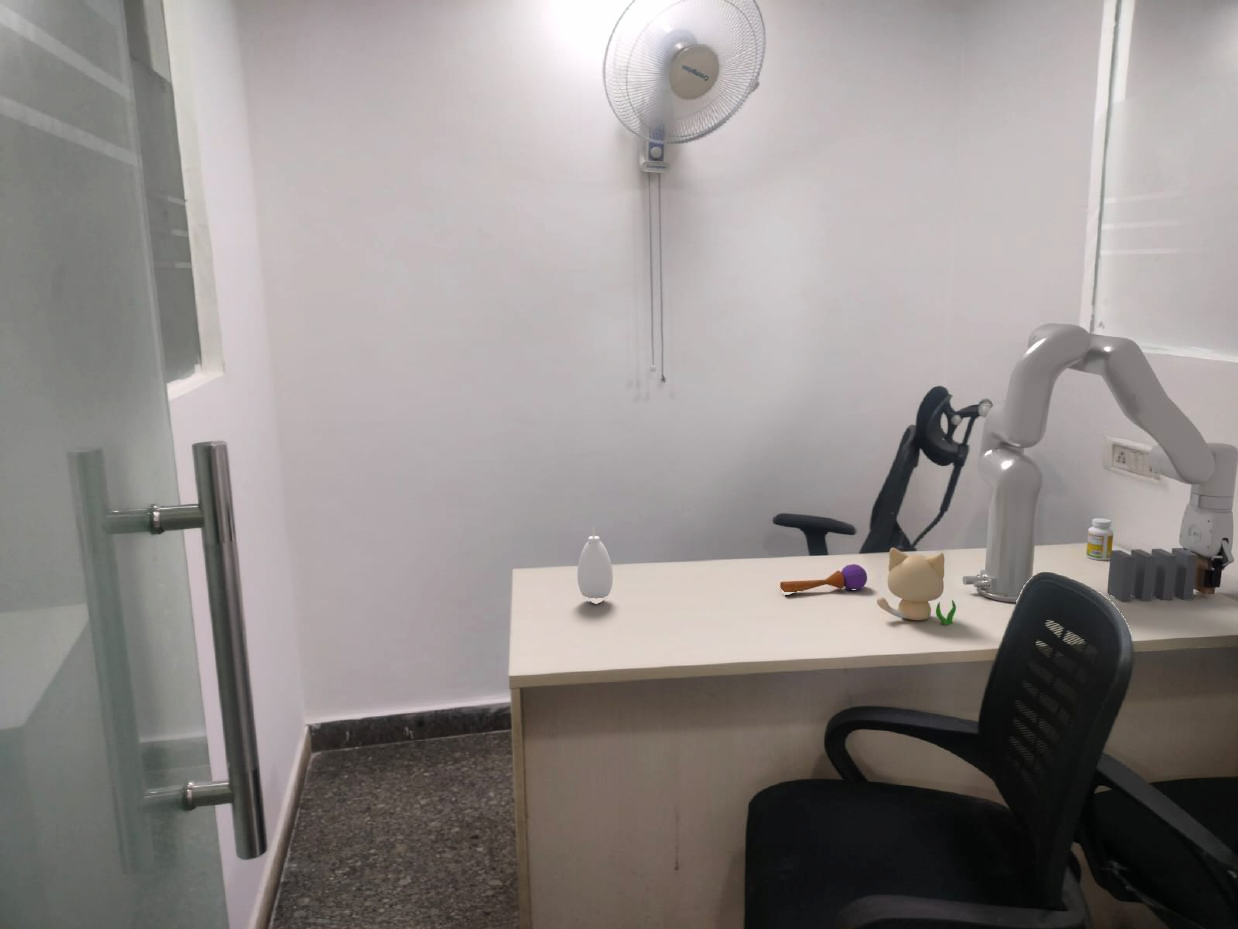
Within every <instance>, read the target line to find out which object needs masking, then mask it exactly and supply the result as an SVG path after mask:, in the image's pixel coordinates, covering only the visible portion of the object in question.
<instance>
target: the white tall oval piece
mask: <svg viewBox="0 0 1238 929" xmlns="http://www.w3.org/2000/svg"><path fill="white" fill-rule="evenodd" d="M595 532H596V531H595V526H594V525H593V526H592V535H590V536H589V537H587V542H586V543H585V544H584V547H583V548H582V551H581V553H580V556H579V560H578V565H577V584H578V588H579V591H580V593H581V595H582V596H585V597H588V598H596V599H597V598H604V597H606V596H608V597H609V595H610V594H611V590H612V587H613V583H614V582H613V580H614V579H613V578H614V576H613V575H614V574H613V572H614V571H613V570H614V569H613V565H612V561H611V557H610V555H609V553H608V550H607V548H606V546H605V545H604V544H603V541H600V540H601V537H600V536H597V535H596V533H595Z"/></svg>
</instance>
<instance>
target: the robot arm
mask: <svg viewBox="0 0 1238 929" xmlns="http://www.w3.org/2000/svg"><path fill="white" fill-rule="evenodd" d="M1027 347H1028V349H1027V350H1026V351H1025V352H1023V354H1022V355H1021V356H1020V357H1019V358H1018V360H1017V361H1016V363H1015V365H1014V367H1013V370H1012V372H1011V373H1010V374H1011V375H1010V379H1009V382H1008V387H1007V390H1006V397H1005V399H1002V400H1000V401H997V403H996V402H995V403H994V404H993V406H992V407H991V408H990V409H989V411H988V412H987V414H986V417H985V419H984V422H983V428H982V434H981V440H980V447H979V453H978V454H979V455H978V461H977V462H978V463H977V467H978V468H977V469H978V474H979V475H980V478H981V480H982V481H984V483H985V484H987V485H988V486H989V487H990V488H993V491H992V496H991V500H990V503H989V508H988V516H987V517H988V519H987V535H986V551H985V564H984V565H985V569H984V570H980V573H978V574H976V575H964V576H963V577H962V583H963V585H965V586H966V585H969V586H970V585H973V587H974V588H976V592H977V593H978V594H979V595H981V596H983V597H986V598H989V599H991V600H995V601H999V602H1005V603H1017V602H1016V600H1017V599H1018V597H1019V595H1020V592H1021V590H1022V589H1023V586H1024V585H1025V584H1026V582H1027V581H1028V580H1029V579H1030V578H1031V577H1032V578H1033V572H1034V571H1033V570H1034V562H1035V561H1034V560H1035V547H1036V546H1035V544H1036V532H1037V520H1038V519H1037V517H1038V516H1037V515H1038V507H1039V502H1040V499H1041V494H1042V492H1043V485H1044V475H1043V470H1042V469H1041V467H1040V465H1039V464H1038V463H1037V462H1036V461H1035V460H1034V459H1033V458H1031V457H1030V456H1029V455H1026V454H1024V452H1025V449H1029V448H1034V447H1035V446H1037V445H1038V444H1039V443H1041V441H1043V439H1044V437H1045V434H1046V430H1047V425H1048V418H1049V411H1050V406H1051V400H1052V395H1053V391H1054V388H1055V385H1056V382H1057V380H1058V378H1059V376H1060V375H1061V374H1062V373H1063V372H1064V371H1066V370H1067V369H1069V370H1074V371H1079V372H1083V373H1087V374H1092V375H1096V376H1097V375H1098V376H1101V377H1102V378H1103V380H1104V382H1105V383H1106V386H1107V387H1108V390H1109V391H1110V393H1111V394H1112V397H1113V399H1114V400H1115V402H1116V404H1117V405H1118V407H1119V408H1120V410H1121V412H1122V414H1123V415H1124V416H1125V417H1126V418H1127V419H1128V420H1129V421H1130V422H1131V423H1132V424H1134V425H1135V426H1136V427H1138V428H1139V429H1141V430H1143V431H1144V432H1145V433H1147V434H1148V435H1149V436H1150V437H1151V438H1152V439H1153V440H1154V441H1155V442H1156V443H1157V444H1156V445H1155V446H1153V447H1152V448H1151V450H1150V451H1149V453H1148V456H1147V460H1148V461H1147V462H1148V464H1149V466H1150V467H1151V469H1152V470H1153V471H1154V472H1156V473H1157V474H1159V475H1161V476H1163V477H1167V478H1169V479H1173V480H1175V481H1178V482H1180V483H1182V484H1185V485H1190V492H1189V502H1188V503H1187V504H1186V506H1185V509H1184V512H1183V516H1182V520H1181V524H1180V525H1181V526H1180V530H1179V537H1178V538H1179V540H1178V543H1179V545H1180V546H1181V548H1182V549H1185V550H1187V551H1190V552H1192V553H1193V552H1195V553H1197V554H1199V555H1202V556H1204V557H1207V563H1208V569H1205V577H1204V587H1206V588H1215V589H1216V588H1220V587H1221V581H1222V574H1223V573H1222V572H1223V571H1225V568H1226V567H1227V566H1229V565H1230V564H1232V563H1235V558H1234V556H1233V555H1234V554H1232V550H1233V544H1234V514H1233V506H1234V497H1235V489H1236V480H1237V472H1238V448H1237V447H1236V446H1235V445H1232V444H1229V443H1224V442H1223V443H1222V442H1206V440H1205V438H1204V436H1203V435H1202V433H1201V431H1200V430H1199V429H1198V428H1197V426H1196V425H1195V424H1194V423H1193V421H1192V420H1191V419H1190V418H1189V417H1188V416H1186V414H1185V413H1184V412H1183V411H1182V410H1181V409H1180V407H1179V406H1178V405H1177V404H1176V402H1174V401H1173V400H1172V399H1171V398H1170V396H1168V394H1167V392H1166V391H1165V389H1164V387H1163V386H1162V384H1161V382H1160V381H1159V379H1158V377H1157V375H1156V372H1154V369H1153V368H1152V366H1151V364H1150V363H1149V361H1148V359H1147V358H1146V355H1145V354H1144V352H1143V351H1142V349H1141V347H1140V346H1139V344H1137V343H1136V342H1135V341H1134V340H1132V339H1129V338H1128V337H1127V338H1126V337H1121V336H1120V337H1119V336H1110V335H1109V336H1108V335H1103V334H1097V333H1090V332H1088V330H1087V329H1085V328H1084V327H1083V326H1080V325H1076V324H1071V323H1069V324H1068V323H1055V322H1054V323H1053V322H1052V323H1045V324H1041V325H1039V326H1038V327H1036V328H1035V329H1034V330H1033V331H1032V332H1031V334H1030V335H1029V337H1028V340H1027ZM1217 553H1219V555H1217ZM1214 558H1218V559H1217V561H1216V562H1215V563H1214Z"/></svg>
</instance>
